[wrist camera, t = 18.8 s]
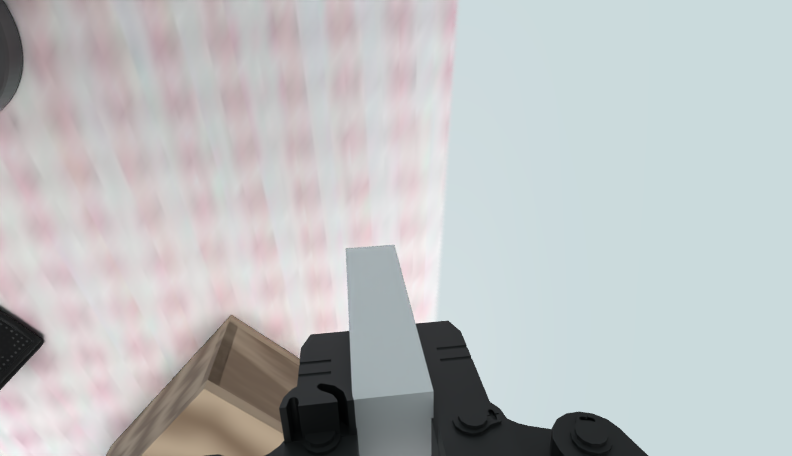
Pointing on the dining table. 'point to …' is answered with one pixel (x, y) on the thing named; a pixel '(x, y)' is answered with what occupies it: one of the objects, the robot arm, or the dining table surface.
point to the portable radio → (15, 347)
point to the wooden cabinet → (218, 400)
